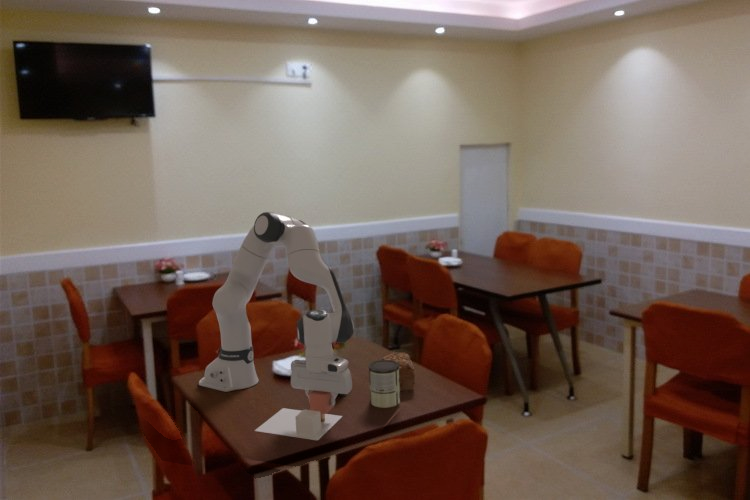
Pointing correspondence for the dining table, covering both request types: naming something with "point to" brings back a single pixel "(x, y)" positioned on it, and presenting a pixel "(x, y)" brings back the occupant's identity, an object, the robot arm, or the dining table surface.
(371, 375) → the coffee can
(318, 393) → the salmon red cube
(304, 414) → the pale grey cube
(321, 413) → the bronze cylinder
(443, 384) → the dining table surface
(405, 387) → the bread
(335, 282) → the robot arm
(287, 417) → the plate
